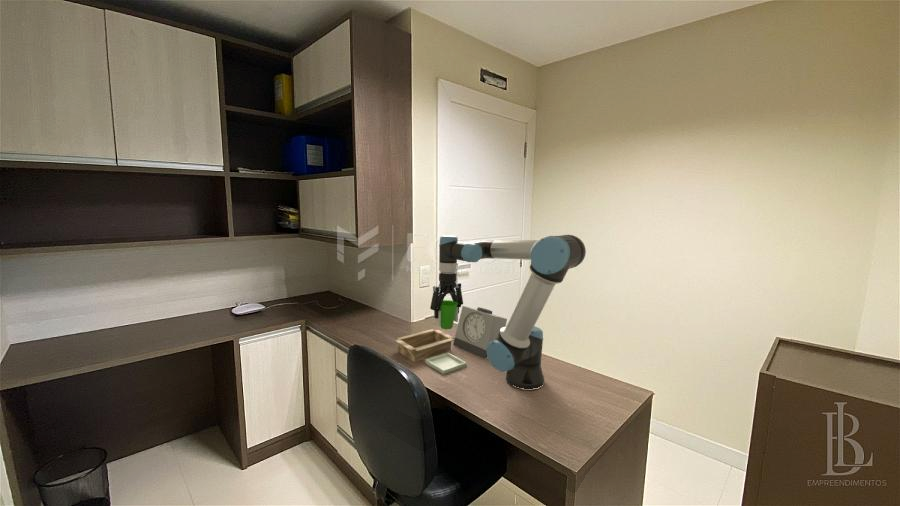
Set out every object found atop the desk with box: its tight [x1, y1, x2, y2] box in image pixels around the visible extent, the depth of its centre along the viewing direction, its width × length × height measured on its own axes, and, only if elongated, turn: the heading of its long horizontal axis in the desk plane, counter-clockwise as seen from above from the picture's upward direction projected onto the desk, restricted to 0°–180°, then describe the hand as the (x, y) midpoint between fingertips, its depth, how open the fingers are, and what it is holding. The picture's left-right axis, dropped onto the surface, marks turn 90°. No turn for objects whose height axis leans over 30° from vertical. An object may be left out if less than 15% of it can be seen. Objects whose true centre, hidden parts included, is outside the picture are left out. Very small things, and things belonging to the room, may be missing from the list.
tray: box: [424, 351, 468, 376], centre depth 160 cm, size 13×13×2 cm
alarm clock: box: [452, 305, 508, 360], centre depth 178 cm, size 20×16×20 cm
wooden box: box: [394, 328, 455, 363], centre depth 173 cm, size 17×25×6 cm
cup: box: [439, 299, 458, 330], centre depth 157 cm, size 9×9×11 cm
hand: (446, 323), depth 158 cm, fingers closed on cup, 9 cm apart
